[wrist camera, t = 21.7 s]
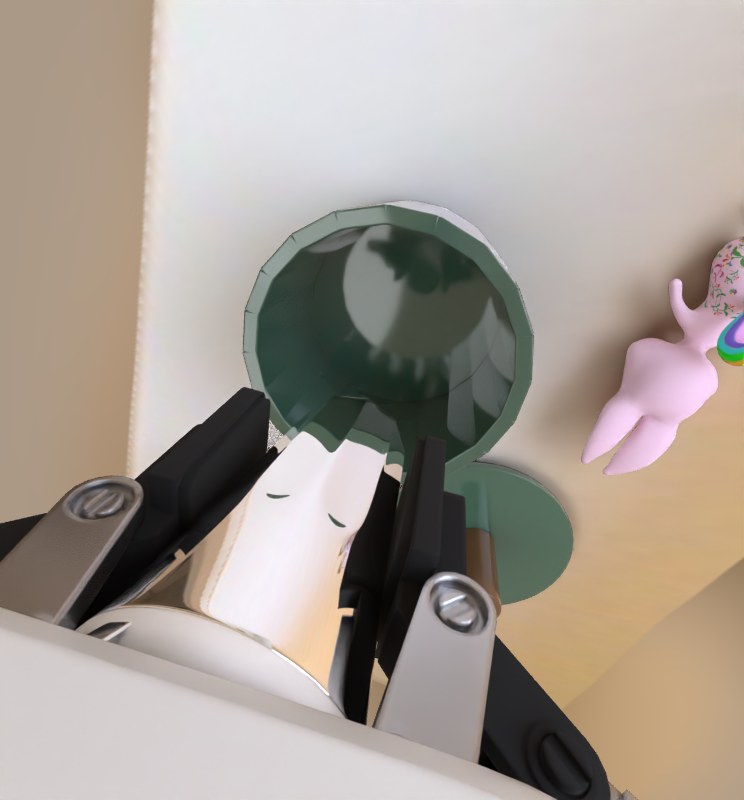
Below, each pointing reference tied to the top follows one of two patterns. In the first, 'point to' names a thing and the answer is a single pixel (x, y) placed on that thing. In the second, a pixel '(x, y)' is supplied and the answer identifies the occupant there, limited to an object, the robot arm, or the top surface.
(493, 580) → the pot lid
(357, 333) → the pot
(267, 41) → the top surface
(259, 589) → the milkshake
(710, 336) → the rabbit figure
